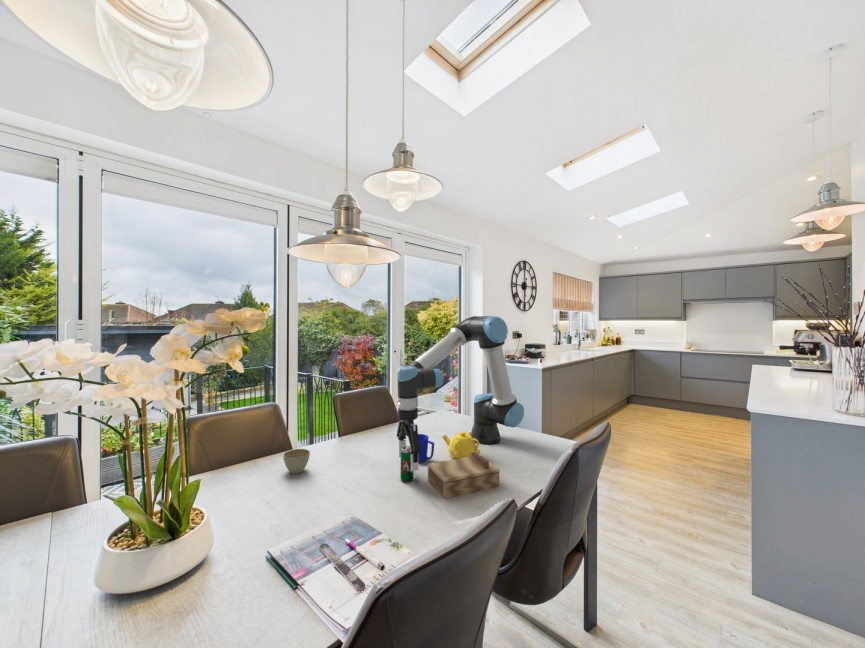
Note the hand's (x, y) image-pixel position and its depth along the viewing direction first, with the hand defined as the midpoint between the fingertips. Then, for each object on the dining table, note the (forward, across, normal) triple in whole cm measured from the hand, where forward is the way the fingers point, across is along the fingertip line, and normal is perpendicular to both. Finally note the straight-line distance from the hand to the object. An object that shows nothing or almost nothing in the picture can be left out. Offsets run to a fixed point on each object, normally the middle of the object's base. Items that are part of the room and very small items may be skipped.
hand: (408, 463), depth 134 cm
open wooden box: (+6, +13, +16) cm, 22 cm away
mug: (+7, -14, +11) cm, 19 cm away
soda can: (+6, 0, -1) cm, 6 cm away
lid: (0, +13, +17) cm, 21 cm away
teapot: (+7, -12, +29) cm, 32 cm away
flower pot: (+6, -24, -39) cm, 46 cm away
